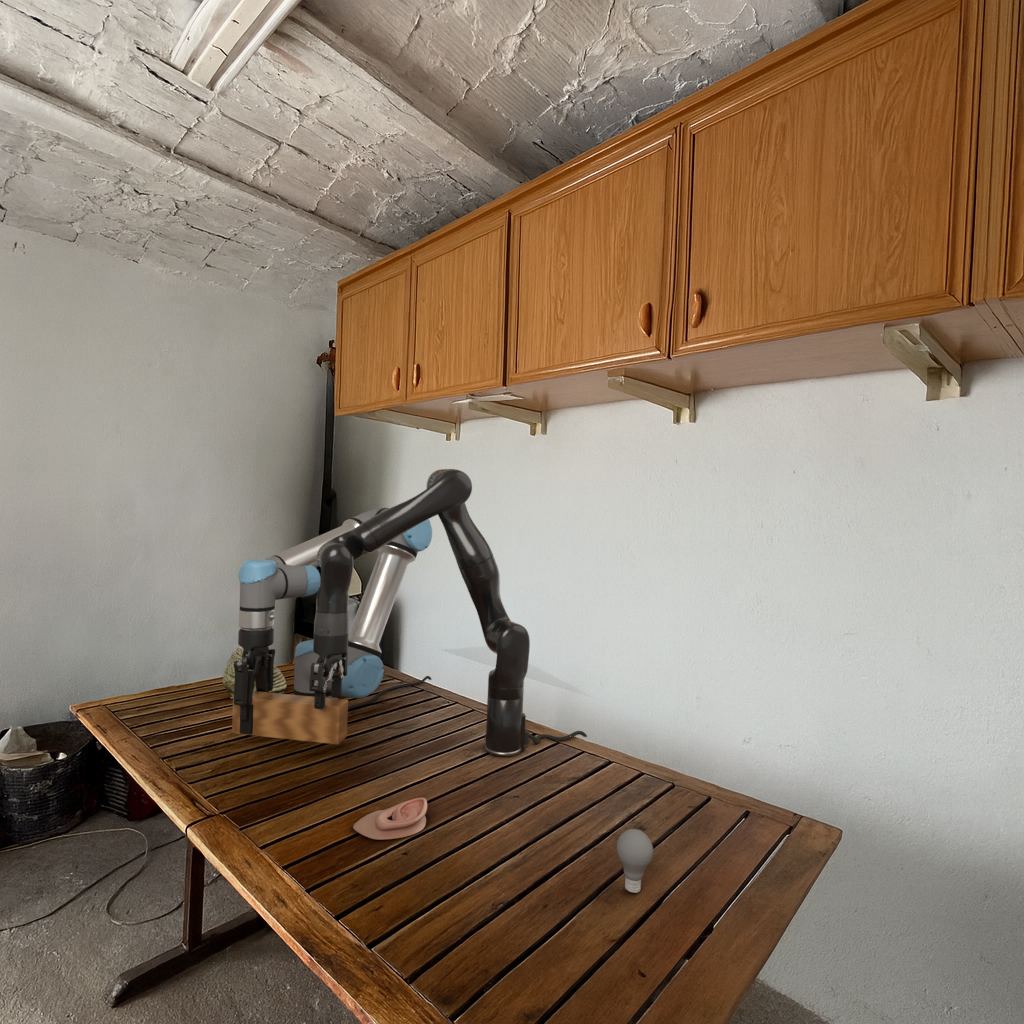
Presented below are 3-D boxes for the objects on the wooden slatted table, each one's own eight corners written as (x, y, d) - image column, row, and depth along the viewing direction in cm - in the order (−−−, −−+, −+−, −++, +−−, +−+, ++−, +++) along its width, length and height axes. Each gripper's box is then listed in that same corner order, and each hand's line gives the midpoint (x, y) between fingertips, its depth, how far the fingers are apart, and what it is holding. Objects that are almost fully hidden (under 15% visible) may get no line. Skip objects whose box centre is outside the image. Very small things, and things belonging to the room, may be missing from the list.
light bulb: (610, 879, 108) (613, 822, 108) (644, 879, 109) (647, 822, 109) (619, 902, 102) (622, 840, 102) (655, 901, 103) (658, 840, 103)
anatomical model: (346, 814, 119) (372, 787, 130) (345, 835, 119) (371, 806, 130) (413, 824, 116) (433, 796, 127) (412, 846, 116) (432, 816, 127)
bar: (231, 733, 143) (232, 696, 143) (243, 725, 148) (245, 690, 148) (337, 744, 139) (339, 706, 139) (347, 736, 144) (348, 699, 144)
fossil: (218, 695, 195) (220, 647, 195) (278, 685, 208) (279, 640, 207) (228, 703, 189) (230, 653, 188) (289, 692, 201) (290, 645, 201)
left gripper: (249, 637, 135) (245, 745, 136) (291, 621, 153) (287, 717, 153) (217, 634, 136) (213, 741, 137) (262, 619, 154) (259, 714, 155)
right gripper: (333, 638, 134) (330, 714, 135) (359, 626, 148) (356, 695, 149) (300, 636, 135) (297, 711, 136) (329, 623, 149) (326, 692, 150)
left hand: (252, 728), depth 145 cm, fingers closed on bar, 5 cm apart
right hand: (328, 702), depth 142 cm, fingers open, 8 cm apart
